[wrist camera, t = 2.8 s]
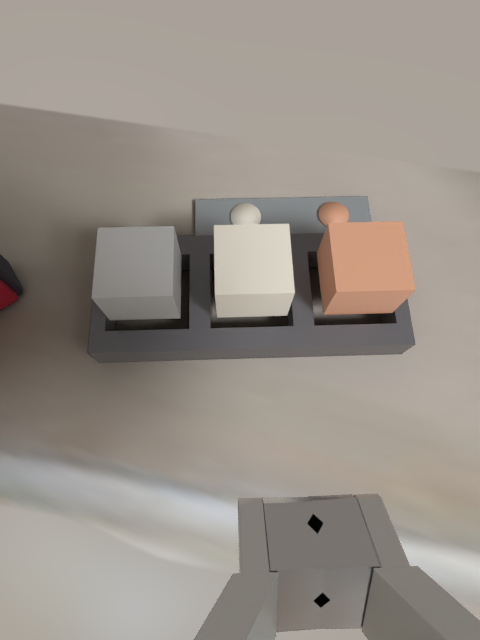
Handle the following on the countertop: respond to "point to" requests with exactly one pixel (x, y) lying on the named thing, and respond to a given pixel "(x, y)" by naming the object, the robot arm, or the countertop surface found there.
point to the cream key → (253, 270)
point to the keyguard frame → (248, 340)
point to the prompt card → (280, 212)
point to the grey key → (137, 273)
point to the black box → (8, 284)
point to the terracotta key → (364, 268)
